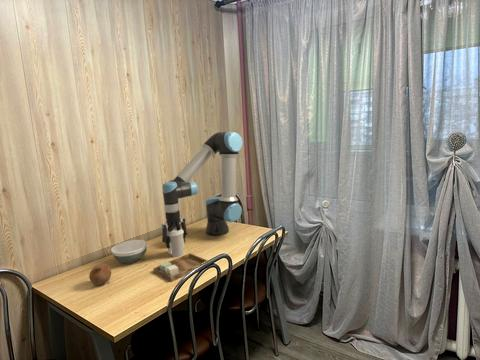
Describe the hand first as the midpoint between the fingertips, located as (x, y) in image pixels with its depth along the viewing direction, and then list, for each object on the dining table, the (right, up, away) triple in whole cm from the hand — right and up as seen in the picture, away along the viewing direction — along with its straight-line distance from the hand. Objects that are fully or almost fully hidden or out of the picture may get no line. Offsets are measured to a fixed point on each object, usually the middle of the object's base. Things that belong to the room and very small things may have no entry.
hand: (176, 251), depth 171 cm
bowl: (-24, -5, -1) cm, 25 cm away
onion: (-30, -10, -25) cm, 40 cm away
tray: (+6, -5, -16) cm, 18 cm away
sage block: (-1, -6, -19) cm, 20 cm away
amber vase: (-2, 0, +17) cm, 17 cm away
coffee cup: (0, -3, +1) cm, 3 cm away
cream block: (+3, -6, -23) cm, 24 cm away
